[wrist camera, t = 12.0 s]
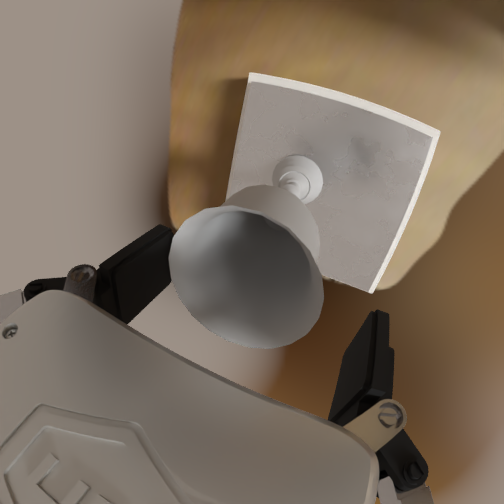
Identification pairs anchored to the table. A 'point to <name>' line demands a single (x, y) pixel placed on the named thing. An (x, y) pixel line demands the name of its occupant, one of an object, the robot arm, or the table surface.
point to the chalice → (254, 260)
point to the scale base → (360, 104)
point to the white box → (336, 171)
